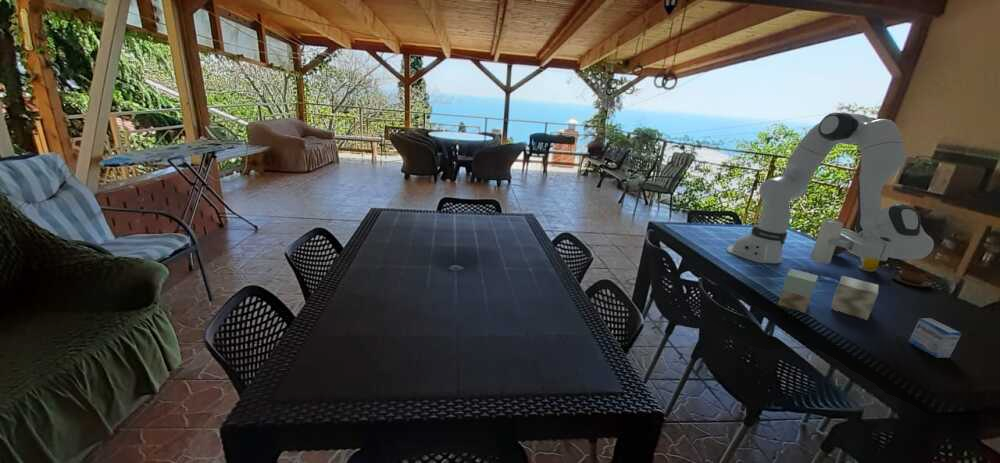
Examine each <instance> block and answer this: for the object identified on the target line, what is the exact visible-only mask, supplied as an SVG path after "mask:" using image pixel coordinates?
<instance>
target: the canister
mask: <svg viewBox="0 0 1000 463" xmlns="http://www.w3.org/2000/svg"><path fill="white" fill-rule="evenodd" d="M844 226H845V224H844V222H842V221H838V220H834V219H823V220H822V222H821V225H820V228H819V231H818V233H819V234H818V233H817V235H818V237H817V236H816V238H817V240H816V239H815V240H816V241H815V243H814V247H813V250H812V251H811V256H810V260H812V261H814V262H816V263H819V264H824V265H825V264H831V262H832V259H833V256H834V255H833V253H834V250H835V247H836V246H835V245H831V244H829V241H830V239H837V240H838V239H839V236H840V233H841V230H842V227H844Z"/></svg>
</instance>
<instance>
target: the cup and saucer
mask: <svg viewBox="0 0 1000 463" xmlns="http://www.w3.org/2000/svg"><path fill="white" fill-rule="evenodd" d="M891 277H892V278H893V279H894V280H895V281H897V282H900V283H901V284H905V285H909V286H912V287H916V288H917V287H918V288H928V287H931V286H932V285H933V282H934V281H935V279H936V278H935V277H934V275H932V274H929V273H928V271H927V270H925V269H923V268H917V267H914V266H908V265H907V266H902V269H901V271H900V272H894V273H891ZM927 277H930V278H931V279H930V280H929V279H926V278H927ZM897 278H901V280H900V279H897ZM902 280H903V281H902ZM918 284H920V285H918Z"/></svg>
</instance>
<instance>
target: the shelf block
mask: <svg viewBox="0 0 1000 463" xmlns="http://www.w3.org/2000/svg"><path fill="white" fill-rule="evenodd" d="M878 295H879V284H876V283H873V282H869V281H865V280H861V279H856V278H853V277H850V276H845V275H841V276H840V279H839V282H838V285H837V288H836V291H835V293H834V296H833V299H832V302H831V305H830V308H829V309H830V310H832V309H833V310H832V311H836V312H839V311H840V312H839V313H842V312H843V314H846V315H849V316H852V317H857V318H860V319H862V320H865V321H868V320H869V318H870V315H871V312H872V310H873V307H874V305H875V302H876V301H877V298H878Z"/></svg>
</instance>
